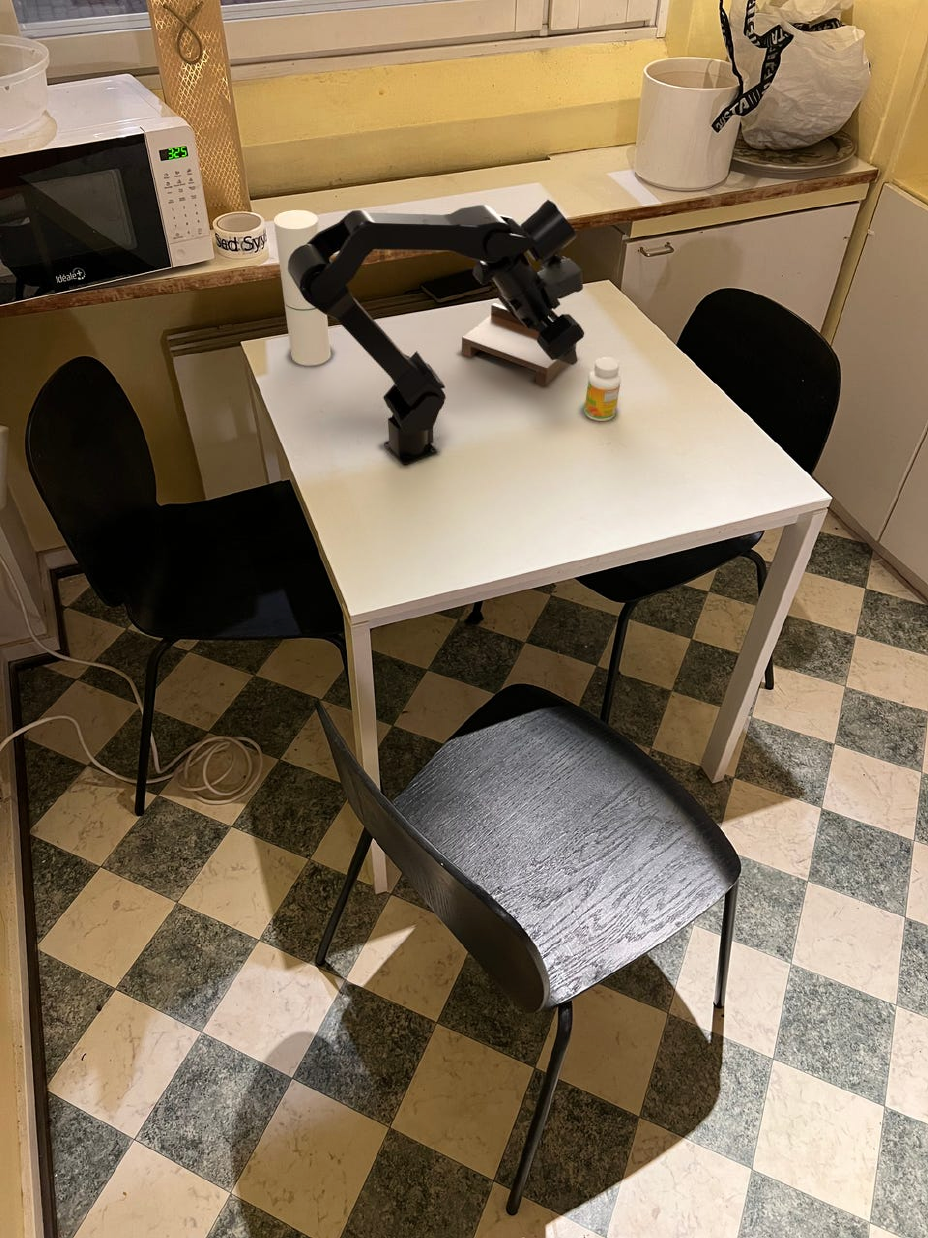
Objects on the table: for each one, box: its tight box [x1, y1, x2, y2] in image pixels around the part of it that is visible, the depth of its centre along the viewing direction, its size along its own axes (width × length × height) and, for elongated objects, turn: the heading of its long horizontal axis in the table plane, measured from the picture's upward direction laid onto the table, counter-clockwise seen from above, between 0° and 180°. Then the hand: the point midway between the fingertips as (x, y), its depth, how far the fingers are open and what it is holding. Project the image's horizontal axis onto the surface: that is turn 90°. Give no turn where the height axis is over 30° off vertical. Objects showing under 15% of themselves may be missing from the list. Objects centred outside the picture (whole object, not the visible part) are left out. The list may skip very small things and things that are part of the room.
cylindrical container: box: [273, 209, 332, 367], centre depth 159 cm, size 7×7×25 cm
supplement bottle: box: [583, 356, 622, 422], centre depth 154 cm, size 5×5×10 cm
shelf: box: [461, 302, 578, 386], centre depth 167 cm, size 11×18×6 cm, turn 57°
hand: (561, 348), depth 147 cm, fingers open, 9 cm apart
